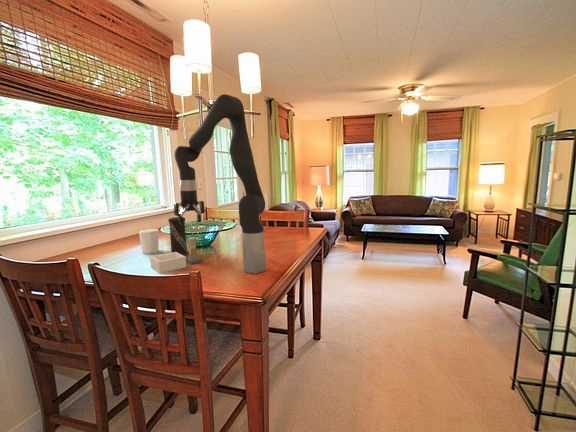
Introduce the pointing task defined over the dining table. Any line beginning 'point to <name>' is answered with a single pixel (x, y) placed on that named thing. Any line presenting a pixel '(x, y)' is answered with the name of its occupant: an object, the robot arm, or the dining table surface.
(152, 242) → the candle holder
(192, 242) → the tan column with base
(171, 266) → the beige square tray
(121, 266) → the dining table surface
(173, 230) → the container
